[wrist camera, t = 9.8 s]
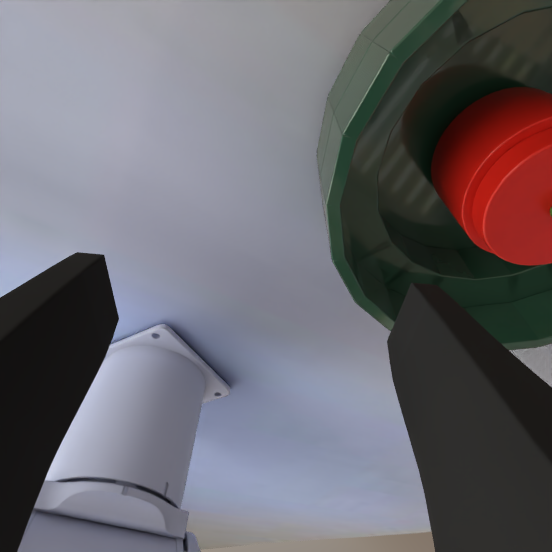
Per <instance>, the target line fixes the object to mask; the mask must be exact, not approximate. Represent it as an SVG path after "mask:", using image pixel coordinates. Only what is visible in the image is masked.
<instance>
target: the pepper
mask: <svg viewBox="0 0 552 552" xmlns="http://www.w3.org/2000/svg"><path fill="white" fill-rule="evenodd" d="M431 178H432V182H433V186H434V188H435V191H436V192H437V194H438V196H439V197H440V198H441V200H442V201H443V203H444V204H445V205H446V207H447V208H448V209H449V211H450V212H451V213H452V215H453V216H454V218H455V219H456V220H457V222H458V223H459V224H460V226H461V227H462V229H463V230H464V231H465V233H466V234H467V235H468V237H469V238H470V239H471V240H472V241H473V243H475V244H476V245H477V246H478V247H480V248H482V249H483V250H485V251H487V252H490V253H493V254H495V255H496V256H498V257H499V258H501V259H503V260H505V261H508V262H511V263H514V264H519V265H544V264H550V263H552V94H550V93H548V92H545V91H543V90H539V89H536V88H531V87H513V88H507V89H503V90H499V91H496V92H493V93H491V94H489V95H486V96H484V97H482V98H481V99H479V100H477V101H475V102H474V103H472V104H471V105H470V106H468V107H467V108H466V109H464V110H463V111H462V112H461V113H460V114H459V115H458V116H457V117H456V118H455V119H454V120H453V121H452V122H451V123H450V125H449V126H448V127H447V128H446V130H445V131H444V133H443V134H442V136H441V138H440V140H439V142H438V144H437V146H436V148H435V151H434V154H433V159H432V164H431Z"/></svg>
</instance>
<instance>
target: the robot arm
mask: <svg viewBox="0 0 552 552" xmlns="http://www.w3.org/2000/svg"><path fill="white" fill-rule="evenodd" d="M118 320H119V317H118V313H117V308H116V304H115V300H114V296H113V291H112V287H111V283H110V279H109V274H108V270H107V266H106V261H105V257H104V255H100V254H89V253H78V252H77V253H75V254H73V255H71V256H69V257H68V258H66V259H64V260H62V261H61V262H59V263H57V264H55V265H54V266H52V267H50V268H49V269H47V270H45V271H44V272H42V273H40V274H39V275H37V276H36V277H34V278H32V279H31V280H29V281H27V282H26V283H24V284H22V285H21V286H19V287H17V288H16V289H14V290H12V291H11V292H9V293H7V294H6V295H4V296H2V297H1V298H0V552H201V551H200V548H199V546H198V542H197V539H196V537H195V535H194V534H193V533H191V532H187V531H186V526H187V521H188V515H189V512H188V511H185V510H181V504H182V499H183V494H184V490H185V485H186V480H187V475H188V470H189V465H190V460H191V456H192V451H193V446H194V441H195V436H196V431H197V426H198V422H199V417H200V412H201V407H202V404H203V403H206V402H209V401H212V400H215V399H218V398H222V397H225V396H228V395H229V394H230V390H231V388H230V387H229V386H228V385H227V384H226V383H225V382H224V381H223V380H222V379H221V378H220V377H219V376H218V375H217V374H216V373H215V372H214V371H213V370H212V369H211V368H210V367H209V366H208V365H207V364H206V363H205V362H204V361H203V360H202V359H201V358H200V357H199V356H198V355H197V354H196V353H195V352H194V351H193V350H192V349H191V348H190V347H189V346H188V345H187V344H186V343H185V342H184V341H183V340H182V339H181V338H180V337H179V336H178V335H177V334H176V333H175V332H174V331H173V330H172V329H171V328H170V327H169V326H167V325H165V324H160V325H157V326H154V327H152V328H149V329H147V330H145V331H142V332H140V333H137V334H135V335H133V336H130V337H128V338H125V339H123V340H121V341H118V342H116V343H113V344H111V345H110V343H111V341H112V338H113V335H114V332H115V329H116V326H117V323H118ZM155 333H156V334H155ZM387 343H388V351H389V359H390V365H391V371H392V377H393V382H394V386H395V389H396V393H397V396H398V400H399V403H400V407H401V411H402V414H403V417H404V421H405V424H406V428H407V431H408V435H409V438H410V441H411V445H412V448H413V452H414V455H415V459H416V462H417V465H418V469H419V473H420V477H421V481H422V485H423V489H424V493H425V498H426V504H427V509H428V514H429V520H430V525H431V530H432V535H433V541H434V547H435V552H552V387H550V386H549V385H548V384H547V383H546V382H544V381H543V380H542V379H541V378H540V377H538V376H537V375H536V374H535V373H534V372H532V371H531V370H530V369H529V368H528V367H527V366H526V365H524V364H523V363H522V362H521V361H520V360H519V359H518V358H516V357H515V356H514V355H513V354H512V353H511V352H510V351H509V350H507V349H506V348H505V347H504V346H503V345H502V344H501V343H500V342H499V341H498V340H497V339H495V338H494V337H493V336H492V335H491V334H490V333H489V332H488V331H487V330H486V329H485V328H484V327H482V326H481V325H480V324H479V323H478V322H477V321H476V320H475V319H474V318H473V317H472V316H471V315H470V314H469V313H468V312H466V311H465V310H464V309H463V308H462V307H461V306H460V305H459V304H458V303H457V302H456V301H455V300H454V299H452V298H451V297H450V296H449V295H448V294H447V293H446V292H445V291H443V290H442V289H441V288H440V287H439V286H437V285H432V284H421V283H411V285H410V287H409V290H408V292H407V294H406V297H405V299H404V302H403V304H402V307H401V309H400V311H399V314H398V316H397V319H396V321H395V324H394V326H393V328H392V331H391V333H390V336H389V338H388V340H387Z"/></svg>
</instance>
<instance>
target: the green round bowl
mask: <svg viewBox="0 0 552 552" xmlns="http://www.w3.org/2000/svg"><path fill="white" fill-rule="evenodd" d="M513 87H531V88H536V89H539V90H543V91H545V92H548V93H550V94H552V0H390V1H389V3H388V4H387V5H386V6H385V7H384V8H383V9H382V10H381V11H380V12H379V13H378V15H377V16H376V17H375V18H374V19H373V20H372V21H371V22H370V23H369V24H368V25H367V27H366V28H365V29H364V30H363V31H362V32H361V34H360V35H359V37H358V38H357V40H356V42H355V44H354V46H353V48H352V50H351V52H350V54H349V56H348V58H347V60H346V62H345V64H344V65H343V67H342V69H341V71H340V73H339V75H338V77H337V79H336V81H335V83H334V85H333V87H332V89H331V91H330V93H329V94H328V96H329V97H328V98H327V102H326V107H325V112H324V117H323V122H322V127H321V132H320V138H319V143H318V148H317V163H318V171H319V179H320V187H321V196H322V203H323V209H324V215H325V221H326V227H327V233H328V240H329V246H330V252H331V258H332V262H333V263H334V265H335V267H336V269H337V271H338V273H339V274H340V276H341V278H342V280H343V282H344V283H345V285H346V287H347V289H348V291H349V293H350V294H351V296H352V298H353V300H354V301H355V303H356V304H358V305H359V306H360V307H361V308H362V309H364V310H365V311H366V312H367V313H369V314H370V315H371V316H372V317H373V318H375V319H376V320H377V321H378V322H380V323H381V324H382V325H383V326H384V327H386V328H387V329H388V330H390V331H392V328H393V326H394V324H395V321H396V319H397V316H398V314H399V311H400V309H401V307H402V304H403V302H404V299H405V297H406V294H407V292H408V290H409V287H410V285H411V283H421V284H432V285H437V286H439V287H440V288H441V289H442V290H443V291H445V292H446V293H447V294H448V295H449V296H450V297H451V298H452V299H454V300H455V301H456V302H457V303H458V304H459V305H460V306H461V307H462V308H463V309H464V310H465V311H466V312H468V313H469V314H470V315H471V316H472V317H473V318H474V319H475V320H476V321H477V322H478V323H479V324H480V325H481V326H482V327H484V328H485V329H486V330H487V331H488V332H489V333H490V334H491V335H492V336H493V337H494V338H495V339H497V340H498V341H499V342H500V343H501V344H502V345H503V346H504V347H505V348H506V349H507V350H516V349H526V348H536V347H541V346H544V345H548V344H552V263H550V264H544V265H519V264H514V263H511V262H508V261H505V260H503V259H501V258H499V257H498V256H496V255H495V254H493V253H490V252H487V251H485V250H483V249H482V248H480V247H478V246H477V245H476V244H475V243H473V241H472V240H471V239H470V238H469V237H468V235H467V234H466V233H465V231H464V230H463V229H462V227H461V226H460V224H459V223H458V222H457V220H456V219H455V218H454V216H453V215H452V213H451V212H450V211H449V209H448V208H447V207H446V205H445V204H444V203H443V201H442V200H441V198H440V197H439V196H438V194H437V192H436V191H435V188H434V186H433V182H432V178H431V164H432V159H433V154H434V151H435V148H436V146H437V144H438V142H439V140H440V138H441V136H442V134H443V133H444V131H445V130H446V128H447V127H448V126H449V125H450V123H451V122H452V121H453V120H454V119H455V118H456V117H457V116H458V115H459V114H460V113H461V112H462V111H463V110H464V109H466V108H467V107H468V106H470V105H471V104H472V103H474V102H475V101H477V100H479V99H481V98H482V97H484V96H486V95H489V94H491V93H493V92H496V91H499V90H503V89H507V88H513Z"/></svg>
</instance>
